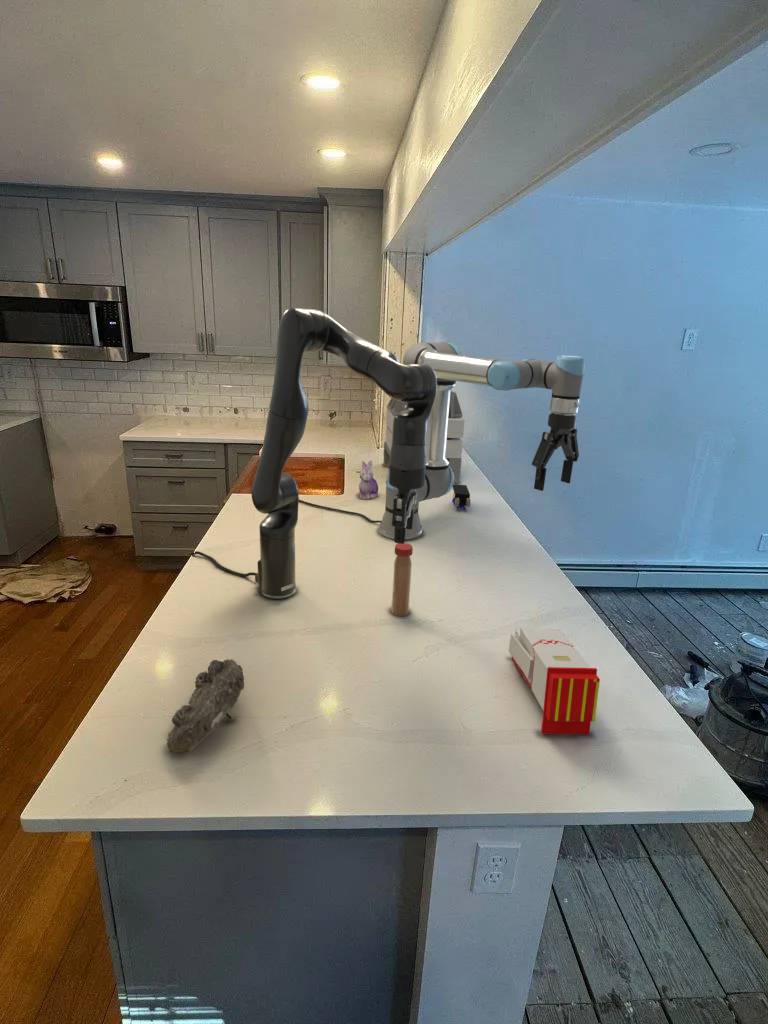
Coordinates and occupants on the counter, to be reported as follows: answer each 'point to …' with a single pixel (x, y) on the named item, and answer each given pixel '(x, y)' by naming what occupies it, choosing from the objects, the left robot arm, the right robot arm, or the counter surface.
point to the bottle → (401, 585)
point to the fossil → (206, 705)
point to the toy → (557, 679)
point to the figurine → (367, 482)
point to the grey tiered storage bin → (453, 433)
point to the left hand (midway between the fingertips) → (403, 535)
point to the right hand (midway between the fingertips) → (552, 485)
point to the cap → (403, 550)
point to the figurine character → (461, 496)
